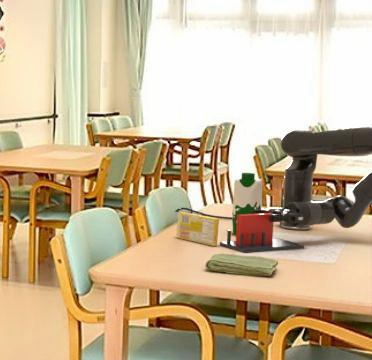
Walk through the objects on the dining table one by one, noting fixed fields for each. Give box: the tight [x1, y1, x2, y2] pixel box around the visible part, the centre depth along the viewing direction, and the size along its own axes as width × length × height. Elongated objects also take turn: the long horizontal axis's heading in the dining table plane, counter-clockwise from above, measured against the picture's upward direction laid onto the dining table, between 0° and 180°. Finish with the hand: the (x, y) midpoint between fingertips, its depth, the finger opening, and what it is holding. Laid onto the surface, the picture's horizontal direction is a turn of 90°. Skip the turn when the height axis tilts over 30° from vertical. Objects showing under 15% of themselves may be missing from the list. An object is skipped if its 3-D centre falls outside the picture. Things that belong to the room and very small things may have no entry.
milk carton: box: [231, 172, 263, 236], centre depth 297 cm, size 9×9×20 cm
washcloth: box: [204, 253, 279, 277], centre depth 243 cm, size 13×18×3 cm
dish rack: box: [219, 229, 305, 254], centre depth 277 cm, size 12×22×5 cm, turn 116°
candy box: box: [176, 211, 220, 247], centre depth 283 cm, size 16×2×8 cm, turn 35°
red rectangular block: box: [235, 213, 274, 246], centre depth 276 cm, size 2×12×9 cm, turn 116°
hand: (261, 216), depth 277 cm, fingers open, 8 cm apart
